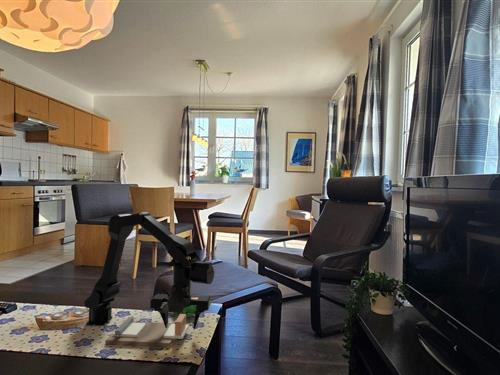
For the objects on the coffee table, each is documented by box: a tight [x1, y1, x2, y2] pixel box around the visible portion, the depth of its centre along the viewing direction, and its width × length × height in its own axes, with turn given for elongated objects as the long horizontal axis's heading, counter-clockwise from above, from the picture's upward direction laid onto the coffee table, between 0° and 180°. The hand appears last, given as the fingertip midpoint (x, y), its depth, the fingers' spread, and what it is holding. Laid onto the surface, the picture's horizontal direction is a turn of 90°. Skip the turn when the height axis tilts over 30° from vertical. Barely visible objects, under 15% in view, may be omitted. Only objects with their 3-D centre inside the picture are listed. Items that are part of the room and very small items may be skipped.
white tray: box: [112, 316, 147, 337], centre depth 98 cm, size 8×10×2 cm
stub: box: [164, 314, 190, 340], centre depth 97 cm, size 6×8×5 cm
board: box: [104, 320, 175, 349], centre depth 98 cm, size 20×13×2 cm, turn 88°
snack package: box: [173, 305, 196, 318], centre depth 116 cm, size 7×16×5 cm, turn 34°
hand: (180, 328), depth 97 cm, fingers open, 9 cm apart
